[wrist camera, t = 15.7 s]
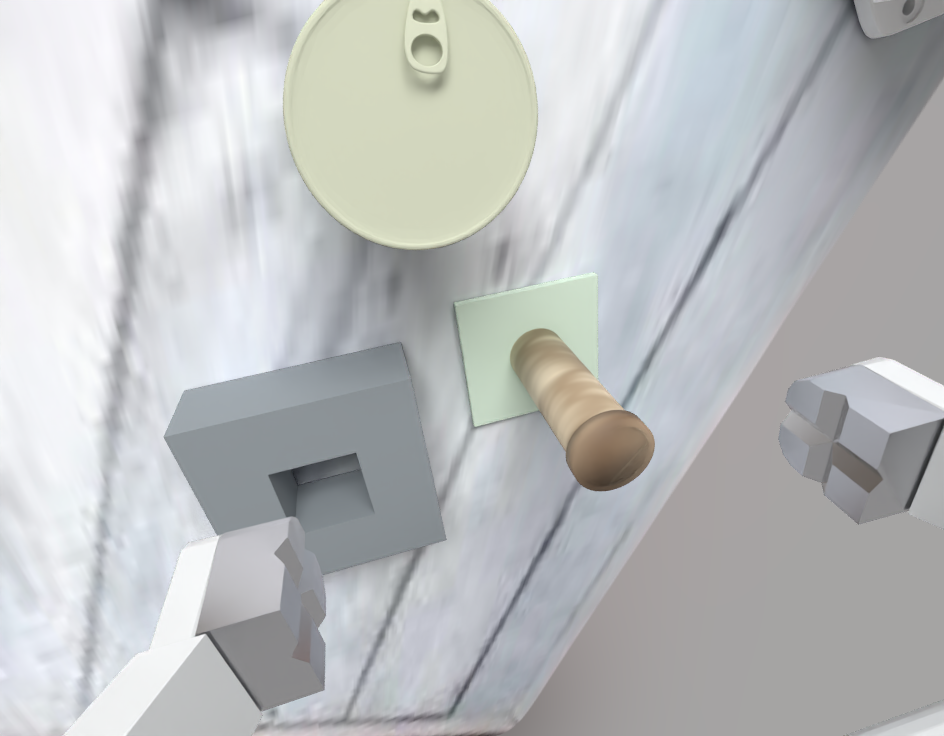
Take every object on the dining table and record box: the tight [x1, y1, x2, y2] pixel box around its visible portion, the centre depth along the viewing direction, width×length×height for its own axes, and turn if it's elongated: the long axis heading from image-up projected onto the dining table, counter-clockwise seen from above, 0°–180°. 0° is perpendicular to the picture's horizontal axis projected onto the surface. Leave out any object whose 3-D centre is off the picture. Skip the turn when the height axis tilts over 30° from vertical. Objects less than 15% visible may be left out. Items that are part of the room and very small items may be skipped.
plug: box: [510, 328, 655, 491], centre depth 33 cm, size 5×5×12 cm
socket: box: [164, 342, 446, 575], centre depth 36 cm, size 14×14×5 cm
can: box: [283, 0, 538, 250], centre depth 23 cm, size 9×9×12 cm
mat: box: [454, 272, 598, 427], centre depth 38 cm, size 10×10×1 cm
